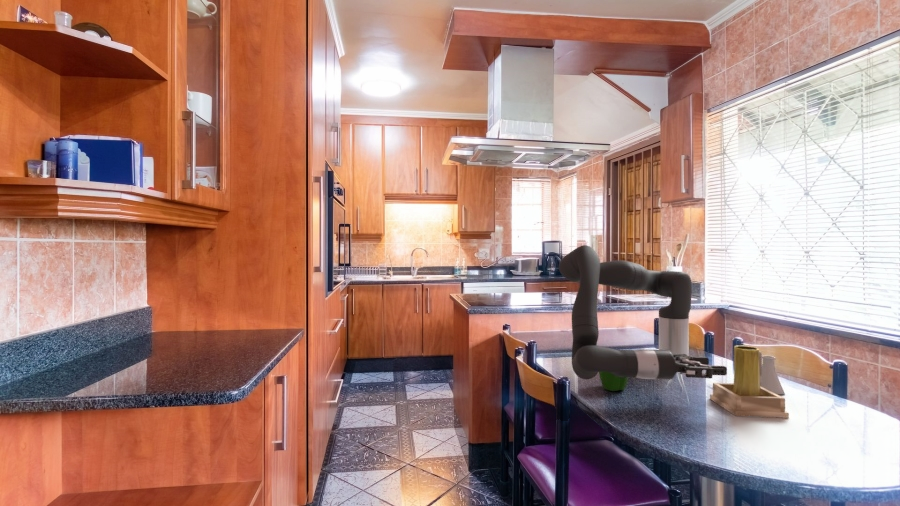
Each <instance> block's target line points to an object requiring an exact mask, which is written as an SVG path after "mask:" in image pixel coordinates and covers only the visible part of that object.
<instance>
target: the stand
mask: <svg viewBox="0 0 900 506" xmlns="http://www.w3.org/2000/svg"><path fill="white" fill-rule="evenodd" d="M762 356H763V353H762V351H760V350H759V370H760V396H738V395H737V394H735V393H733V388H734V382H733V383H729V382H728V383H727V382H725V383H724V382H712V393H710V394H709V399H710V400H712V401H713V402H714V403H716V404H718V405H719V406H720V405H721V406H720V407H721V408H723V407H724V408H723V409H724V410H726V411H727V412H729V413H731V414H733V415H734V416H735V417H748V416H762V417H761V418H776V417H783V419H788V418H789V419H790V417H789V416H790V413H789V412H788V411H786V398H785V397H783V396H781V395H780V394H779V395H777V394H775V393H773V392H771V391H769V390H767V389H765V388H763V387H762V364H763V358H762Z"/></svg>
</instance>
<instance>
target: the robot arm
mask: <svg viewBox="0 0 900 506" xmlns="http://www.w3.org/2000/svg"><path fill="white" fill-rule="evenodd" d="M600 260H601V259H600V257H599V254H598V252H597V251H596V250H595V249H594V248H593V247H591V246H589V245H585V244H583V245H580V246H578V247H576V248H574V249H573V250H572V251H570V252H569V253H567V254H566V255H565V256H563V257H562V258H561V260H560V261H559V264H558V271H559V272H560V274H561V276H562V277H563V278H565V279H566V280H568V281H570V282H572V283H578V284H579V286H578V290H577V294H576V297H575V300H574V301H573V302H574V303H573V305H572V309H571V310H572V311H571V333H572V346H571V347H572V348H571V367H572V370H573V373H575V375H576V376H577V377H578V378H580V379H582V380H591V379H593V378H594V377H596V376H597V375H598V374H599V372H611V373H612V374H613V375H614V376H617V377H628V378H638V379H644V380H673V379H674V378H675V375H676V374H677V373H679V374H680V375H683V376H685V377H686V378H698V379H713V376H727V374H728V369H727V367H726V366H725V365H712V364H711V365H710V361H709V360H710V359H709V358H708V357H706V356H693V355H691V354H689V352H690V351H689V350H690V349H689V347H690V341H689V339H690V338H689V337H690V334H689V333H690V330H689V329H690V327H689V326H690V324H689V323H690V321H689V320H690V319H689V317H690V311H691V309H692V293H693V290H692V289H693V284H692V279H691V277H690V275H689V274H688V273H687V272H685V271H671V270H663V271H662V270H649V269H646V267H644V266H643V265H641V264H639V263H636V262H632V261H628V260H620V259H619V260H610V261H609V260H608V261H603V262H601V261H600ZM599 285H602V286H607V287H613V288H619V289H622V290H627V291H628V290H629V291H637V292H638V291H645V292H649V293H651V294H655V295H657V296H661V297H664V298H670V303H669V304H668V305H665V306H664V307H660V308H659V309H658V349H644V348H643V349H613V348H610V347H607V346H602V345H597V344H598V341H599V335H600V333H599V321H598V296H599V295H598V293H599ZM703 371H705V372H703Z"/></svg>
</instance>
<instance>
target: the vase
mask: <svg viewBox="0 0 900 506" xmlns="http://www.w3.org/2000/svg"><path fill="white" fill-rule="evenodd" d="M759 351H760V349H759V348H758V347H755V346H749V345H741V344H740V345H734V347H733V383H734V388H733V393H735V394H737V395H738V396H760V370H759Z"/></svg>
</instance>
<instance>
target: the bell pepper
mask: <svg viewBox="0 0 900 506" xmlns="http://www.w3.org/2000/svg"><path fill="white" fill-rule="evenodd" d="M598 374H599V378H600V379H599V380H600V383H601V385H602V387H603V388H604V390H606V391H610V392H618V391H624V390H625V389H626V386H627V383H628V380H629V377H617V376H614V375H613V374H612V373H611V372H598Z"/></svg>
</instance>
